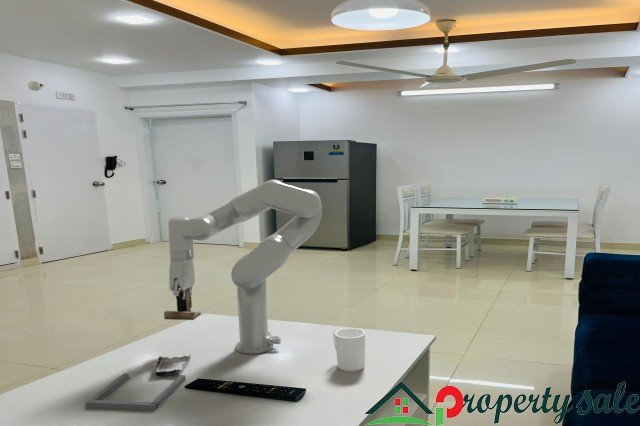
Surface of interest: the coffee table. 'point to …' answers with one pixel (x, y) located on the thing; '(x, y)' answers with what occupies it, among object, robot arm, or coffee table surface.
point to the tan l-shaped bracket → (182, 314)
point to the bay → (131, 405)
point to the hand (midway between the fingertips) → (184, 308)
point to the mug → (350, 349)
